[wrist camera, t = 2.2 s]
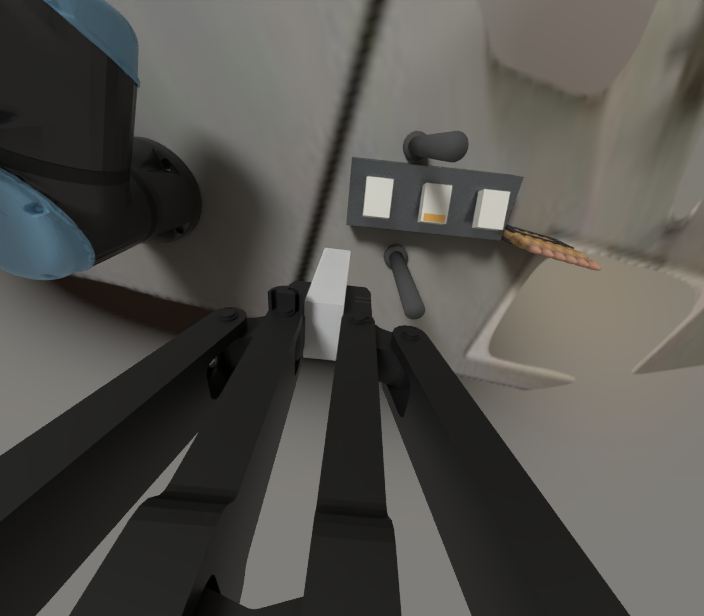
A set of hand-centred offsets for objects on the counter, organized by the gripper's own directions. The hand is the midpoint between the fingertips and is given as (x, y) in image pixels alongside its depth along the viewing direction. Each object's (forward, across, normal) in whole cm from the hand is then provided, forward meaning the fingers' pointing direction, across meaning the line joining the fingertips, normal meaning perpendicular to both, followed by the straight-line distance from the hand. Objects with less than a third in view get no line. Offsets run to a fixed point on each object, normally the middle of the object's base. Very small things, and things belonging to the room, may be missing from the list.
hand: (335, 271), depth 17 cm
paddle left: (+26, +4, +1) cm, 26 cm away
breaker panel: (+32, +12, +1) cm, 34 cm away
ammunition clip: (+33, +29, -3) cm, 44 cm away
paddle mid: (+26, +12, +1) cm, 28 cm away
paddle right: (+26, +20, +1) cm, 33 cm away
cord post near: (+32, +8, +8) cm, 34 cm away
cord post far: (+32, +8, -9) cm, 34 cm away
